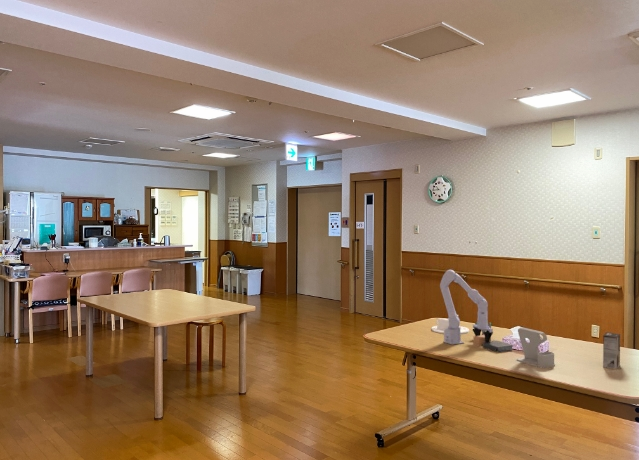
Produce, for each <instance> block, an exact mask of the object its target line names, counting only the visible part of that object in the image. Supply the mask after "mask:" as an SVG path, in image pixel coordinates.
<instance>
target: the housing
mask: <svg viewBox="0 0 639 460" xmlns="http://www.w3.org/2000/svg"><path fill="white" fill-rule="evenodd" d="M472 341H473V345H474V346H477V347H483V342H485V335H481V334H480V336H475V335H474V336H473V340H472ZM490 341H492V337H491V338H490ZM490 341H489V342H490Z"/></svg>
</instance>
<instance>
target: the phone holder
mask: <svg viewBox="0 0 639 460" xmlns="http://www.w3.org/2000/svg"><path fill="white" fill-rule="evenodd" d="M517 332H518V337H519V341H520V344H521V348H522V352H523V355H524V356H523V357H518V358H516V361H517V362H520V363H524V364H526V365H527V364H528V365H530V366H533V365H534V367H537V366H538V367H537V368H540V367H541V369H546V367H548V368H552V367H555V366H556V364H555V352H552V351H543V352H540V349H539V346H540V345H542V344H543V343H545V342H546V341H548V336H547V334H546V333H545V332H543V331H540V330H535V329H531V328H526V327H524V326H523V327H520V328H518V329H517ZM526 339H527V340H528V341H529V342H528V341H527V340H526ZM551 366H552V367H551Z"/></svg>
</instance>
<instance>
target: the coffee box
mask: <svg viewBox="0 0 639 460" xmlns="http://www.w3.org/2000/svg"><path fill="white" fill-rule="evenodd" d="M602 338H603V339H602V340H603V341H602V343H603V344H602V350H603V351H602V367H603V368H606V367H608V368H607V369H612V368H614V369H613V370H618V369H617V368H619V367H620V366H621V334H620V333H614V332H609V331H607V332H605V333H604V334H603V335H602Z"/></svg>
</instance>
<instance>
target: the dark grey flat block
mask: <svg viewBox="0 0 639 460" xmlns="http://www.w3.org/2000/svg"><path fill="white" fill-rule="evenodd" d="M482 347H483V348H484V349H486V350H489V351H491V352H494V353H495V352H496V353H503V352H510V351H513V347H514V346H513V344H510V343H507V342H504V341H499V340H493V341H492V340H491V341H490V342H483V346H482Z"/></svg>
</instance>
